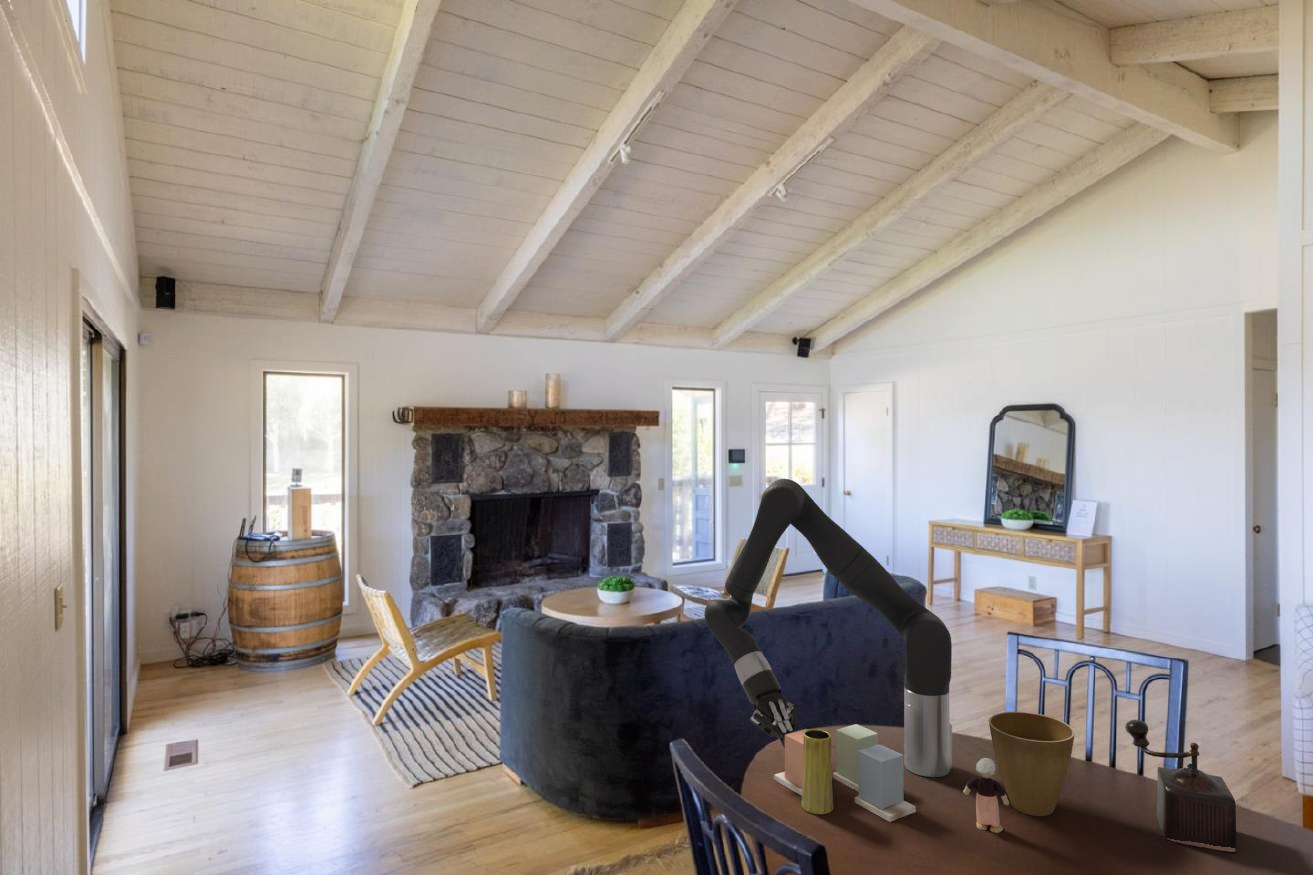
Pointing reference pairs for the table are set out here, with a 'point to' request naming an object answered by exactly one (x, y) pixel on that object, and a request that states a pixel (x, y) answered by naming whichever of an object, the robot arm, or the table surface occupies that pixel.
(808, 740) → the vase
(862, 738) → the sage block
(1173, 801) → the dark brown coffee grinder
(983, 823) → the grandmother figurine
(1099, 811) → the table surface
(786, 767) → the terracotta block
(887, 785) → the slate block
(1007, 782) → the plant pot
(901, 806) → the block bases
